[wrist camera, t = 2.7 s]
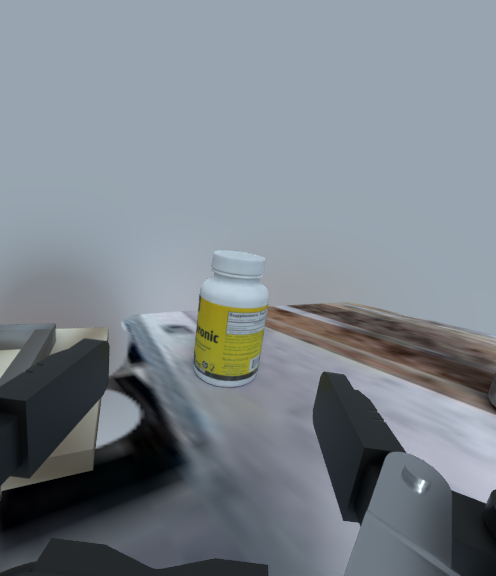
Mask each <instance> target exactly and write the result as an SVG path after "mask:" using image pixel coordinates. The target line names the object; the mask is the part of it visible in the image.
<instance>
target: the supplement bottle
mask: <svg viewBox="0 0 496 576" xmlns="http://www.w3.org/2000/svg"><path fill="white" fill-rule="evenodd" d="M264 268H265V258H264V257H261V256H258V255H254V254H249V253H244V252H237V251H236V252H235V251H222V250H219V251H214V252H213V259H212V271H213V272H214V277H212V278H209V279H208V280H206V281H205V282H204V283H203V284H202V286H201V290H200V297H199V309H198V319H197V330H196V340H195V350H194V362H193V366H194V370H195V372H196V374H197V375H198V376H199V377H200V378H201V379H202V380H204V381H205V382H207V383H209V384H212V385H215V386H220V387H237V386H241V385H244V384H247V383H249V382H250V381H252V380H253V379H254V378H255V376H256V374H257V370H258V365H259V359H260V353H261V346H262V340H263V334H264V327H265V321H266V314H267V308H268V301H269V292H268V290H267V288H266V287H265V286H264V285H262V284H261V283H260V278H262V277H263V273H264Z"/></svg>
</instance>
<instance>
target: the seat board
mask: <svg viewBox="0 0 496 576" xmlns="http://www.w3.org/2000/svg"><path fill="white" fill-rule="evenodd" d="M108 329H109V328H108V327H105V328H104V327H103V328H70V329H56V324H15V325H0V386H2V385H3V384H5V383H6V382H8V381H10V380H11V379H13V378H14V377H16V376H17V375H19V374H21V373H22V372H25V371H26V370H27V369H29V368H30V367H32V366H33V365H36V364H37V363H38V362H40V361H41V360H43V359H44V358H46V357H47V356H49V355H51V354H54V353H57V352H60V351H63V350H65V349H69V348H70V347H72V346H73V345H75V344H76V343H78V342H79V341H81V340H82V339H84V338H89V339H97V340H104V341H107V342H108ZM100 405H101V398H100V399H99V401H98V402H97V403H96V404H95V405H94V406H93V407H92V408H91V410H90V411H89V412H88V413H87V414H86V415H85V416H84V418H83V419H82V420H81V421H80V422H79V423H78V424H77V425H76V427H75V428H74V429H73V430H72V431H71V432H70V433H69V435H68V436H67V437H66V438H65V439H64V440H63V441H62V442H61V444H60V445H59V446H58V447H57V448H56V449H55V450H54V452H53V453H52V454H51V455H50V456H49V457H48V458H47V459H46V461H45V462H44V463H43V464H42V465H41V466H40V467H39V469H38V470H37V471H36V472H35V473H34V474H33V475H32V476H31V478H30V479H27V478H19V477H11V476H10V477H9V478H8V479H7V480H6V481H5V482H4V483H3V484H2V485H1V491H4V490H8V489H12V488H17V487H21V486H25V485H30V484H34V483H39V482H43V481H47V480H52V479H56V478H60V477H65V476H69V475H74V474H78V473H82V472H87V471H91V470H93V465H94V456H95V448H96V439H97V431H98V422H99V414H100Z"/></svg>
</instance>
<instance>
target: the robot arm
mask: <svg viewBox="0 0 496 576" xmlns="http://www.w3.org/2000/svg"><path fill="white" fill-rule="evenodd" d="M108 378H109V343H108V342H107V341H104V340H97V339H89V338H84V339H82V340H81V341H79V342H78V343H76V344H75V345H73V346H72V347H70V348H69V349H65V350H63V351H60V352H57V353H54V354H51V355H49V356H47V357H46V358H44V359H43V360H41V361H40V362H38V363H37V364H36V365H33V366H32V367H30V368H29V369H27V370H26V371H25V372H22V373H21V374H19V375H17V376H16V377H14V378H13V379H11V380H10V381H8V382H6V383H5V384H3V385H2V386H0V502H1V495H2V494H1V485H2V484H3V483H4V482H5V481H6V480H7V479H8V478H9V477H10V476H11V477H19V478H27V479H30V478H31V476H32V475H33V474H34V473H35V472H36V471H37V470H38V469H39V467H40V466H41V465H42V464H43V463H44V462H45V461H46V459H47V458H48V457H49V456H50V455H51V454H52V453H53V452H54V450H55V449H56V448H57V447H58V446H59V445H60V444H61V442H62V441H63V440H64V439H65V438H66V437H67V436H68V435H69V433H70V432H71V431H72V430H73V429H74V428H75V427H76V425H77V424H78V423H79V422H80V421H81V420H82V419H83V418H84V416H85V415H86V414H87V413H88V412H89V411H90V410H91V408H92V407H93V406H94V405H95V404H96V403H97V402H98V401H99V399H100V398H101V397H102V396H103V394H104V392H105V390H106V388H107V384H108ZM488 398H489V400H490V401H491V403H492V404H493V405H494V406H495V407H496V374H495V376H494V379H493V381H492V384H491V386H490V389H489V391H488ZM313 425H314V428H315V432H316V435H317V438H318V441H319V444H320V448H321V451H322V454H323V457H324V460H325V464H326V467H327V470H328V473H329V476H330V480H331V483H332V486H333V489H334V492H335V496H336V499H337V502H338V505H339V508H340V512H341V515H342V518H343V521H350V522H358V523H359V524H360V527H361V528H360V531H359V533H358V536H357V539H356V542H355V545H354V548H353V551H352V554H351V556H350V559H349V562H348V565H347V568H346V571H345V574H344V576H496V490H493V491H492V492H491V494H490V497H489V499H488V501H487V504H485V503H483V502H480V501H478V500H475V499H473V498H470V497H467V496H465V495H462V494H460V493H457V492H454V491H452V490H451V489H450V487H449V485H448V483H447V482H446V480H445V479H444V478H443V477H442V475H441V474H440V473H439V472H438V471H437V470H435V469H434V468H433V467H432V466H431V465H429V464H428V463H426V462H425V461H423V460H421V459H420V458H418V457H415V456H413V455H411V454H408V453H406V452H405V450H404V449H403V447H402V446H401V444H400V443H399V441H398V440H397V439H396V437H395V436H394V434H393V433H392V431H391V430H390V428H389V427H388V425H387V424H386V422H384V420H383V418H382V417H381V415H380V414H379V413H377V409H376V408H375V406H374V405H373V404H372V402H371V401H370V400H369V399H368V398H367V397H366V396H365V395H363V394H362V393H361V392H360V391H359V390H354V389H353V387H352V385H351V384H350V382H349V381H348V379H347V378H346V376H345V375H344V374H337V373H330V372H323V373H322V375H321V377H320V382H319V386H318V390H317V395H316V399H315V403H314V408H313ZM0 576H268V565H264V564H256V563H248V562H240V561H232V560H224V559H216V558H215V559H210V560H205V561H200V562H195V563H190V564H185V565H180V566H174V567H169V568H164V569H153V568H150V567H148V566H146V565H144V564H142V563H140V562H138V561H136V560H134V559H132V558H131V557H129V556H127V555H125V554H123V553H121V552H119V551H117V550H115V549H113V548H111V547H109V546H107V545H103V544H95V543H87V542H79V541H71V540H63V539H55V538H52V539H51V540H50V542H49V543H48V545H47V546H46V548H45V550H44V551H43V553H42V554H41V556H40V557H39V559H38V560H37V561H36V562H31V563H27V564H24V565H21V566H17V567H14V568H12V569H9V570H7V571H4V572H2V573H0Z"/></svg>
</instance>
